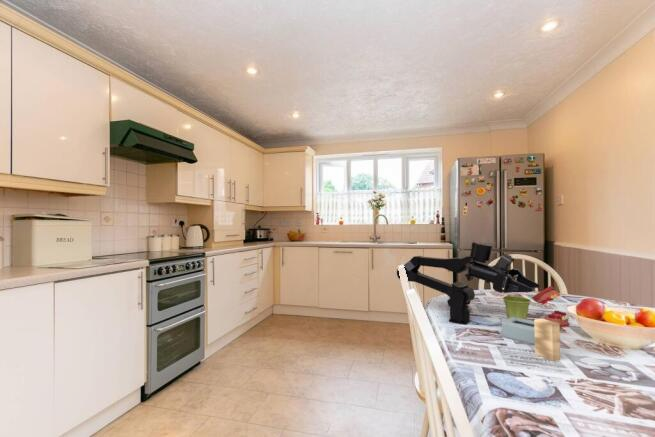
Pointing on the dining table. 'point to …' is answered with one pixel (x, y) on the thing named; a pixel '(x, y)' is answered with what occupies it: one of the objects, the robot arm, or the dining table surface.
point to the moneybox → (519, 330)
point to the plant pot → (516, 306)
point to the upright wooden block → (547, 339)
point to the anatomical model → (557, 316)
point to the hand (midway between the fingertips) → (536, 288)
